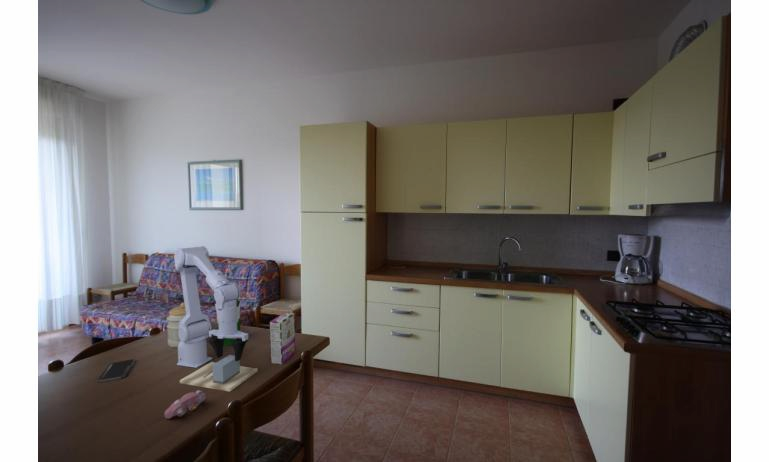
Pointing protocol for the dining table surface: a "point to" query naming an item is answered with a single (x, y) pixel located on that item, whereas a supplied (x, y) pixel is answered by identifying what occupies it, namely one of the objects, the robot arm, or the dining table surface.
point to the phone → (116, 370)
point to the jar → (175, 324)
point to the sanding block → (225, 369)
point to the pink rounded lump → (185, 404)
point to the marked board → (205, 378)
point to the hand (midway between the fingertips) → (228, 358)
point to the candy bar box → (282, 338)
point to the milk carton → (229, 341)
